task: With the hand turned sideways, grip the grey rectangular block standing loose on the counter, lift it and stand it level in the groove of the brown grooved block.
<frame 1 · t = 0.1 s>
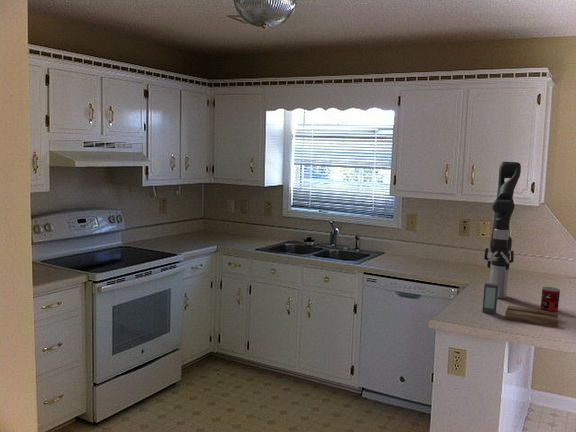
hand: (497, 269, 297), 17 cm above the worktop, tool pointing down, fingers open, 8 cm apart
canned food: (549, 310, 288), on the worktop
brown grooved block: (531, 319, 269), on the worktop
grey rectangular block: (489, 312, 278), on the worktop
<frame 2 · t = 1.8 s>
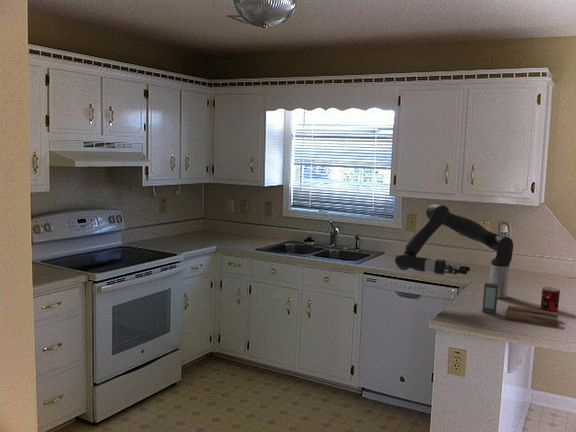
hand: (468, 270, 281), 19 cm above the worktop, tool horizontal, fingers open, 8 cm apart
nothing on the worktop moved.
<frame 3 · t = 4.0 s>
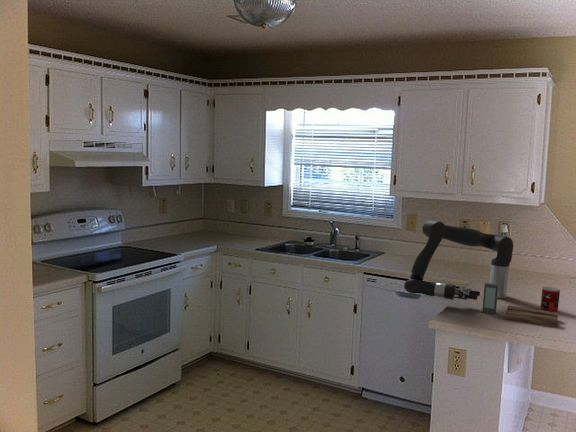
hand: (478, 295, 280), 7 cm above the worktop, tool horizontal, fingers open, 8 cm apart
nothing on the worktop moved.
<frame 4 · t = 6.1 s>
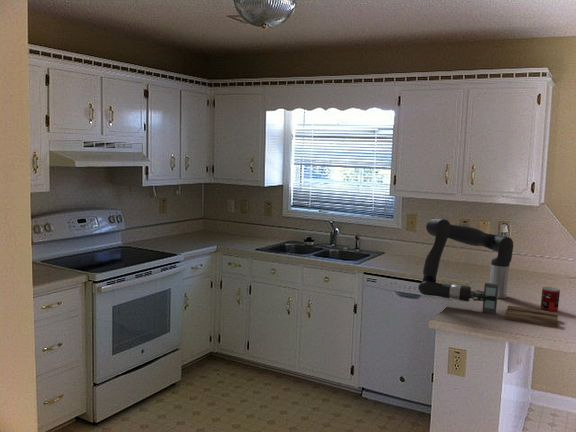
hand: (496, 298, 276), 8 cm above the worktop, tool horizontal, fingers closed on grey rectangular block, 3 cm apart
grey rectangular block: (489, 312, 278), on the worktop, touching gripper
everything else where it was.
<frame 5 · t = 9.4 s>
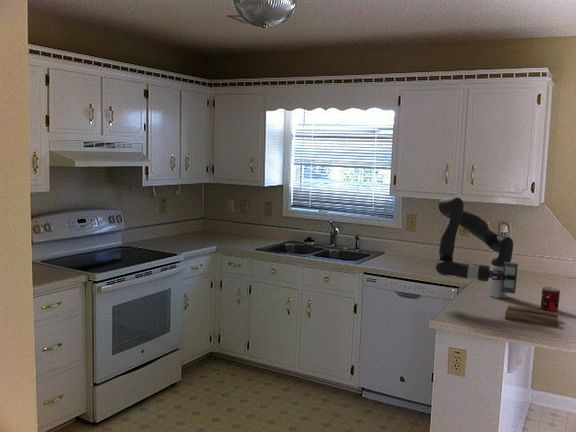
hand: (516, 277, 271), 19 cm above the worktop, tool horizontal, fingers closed on grey rectangular block, 3 cm apart
grey rectangular block: (508, 292, 273), point 11 cm above the worktop, touching gripper
everything else where it was.
when the fingers open (10 cm above the worktop, at t = 12.9 s): grey rectangular block stays where it is, resting on brown grooved block.
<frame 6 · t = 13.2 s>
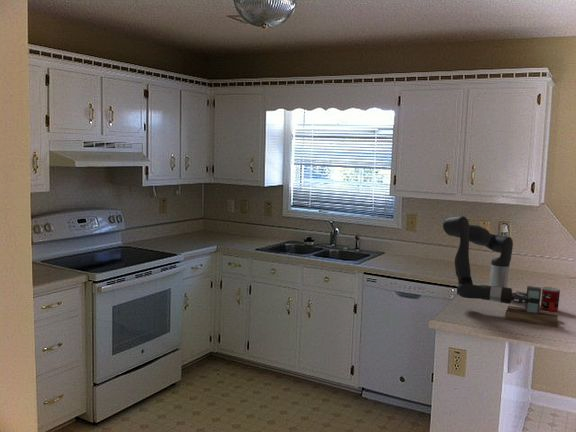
hand: (539, 300, 267), 10 cm above the worktop, tool horizontal, fingers open, 5 cm apart
grey rectangular block: (531, 316, 269), point 1 cm above the worktop, touching brown grooved block
everything else where it was.
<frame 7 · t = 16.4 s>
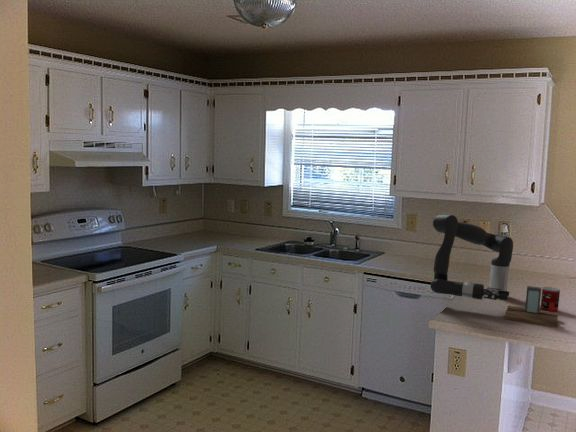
hand: (508, 295, 272), 10 cm above the worktop, tool horizontal, fingers open, 8 cm apart
nothing on the worktop moved.
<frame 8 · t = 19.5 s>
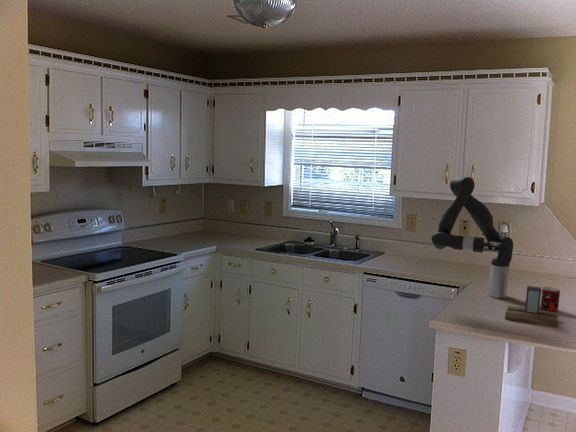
hand: (508, 247, 275), 32 cm above the worktop, tool horizontal, fingers open, 8 cm apart
nothing on the worktop moved.
at the end: grey rectangular block inside the target area on the brown grooved block (0.1 cm from its centre), point 1.5 cm above the brown grooved block's base; grey rectangular block tilted 0°; the gripper is holding nothing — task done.
